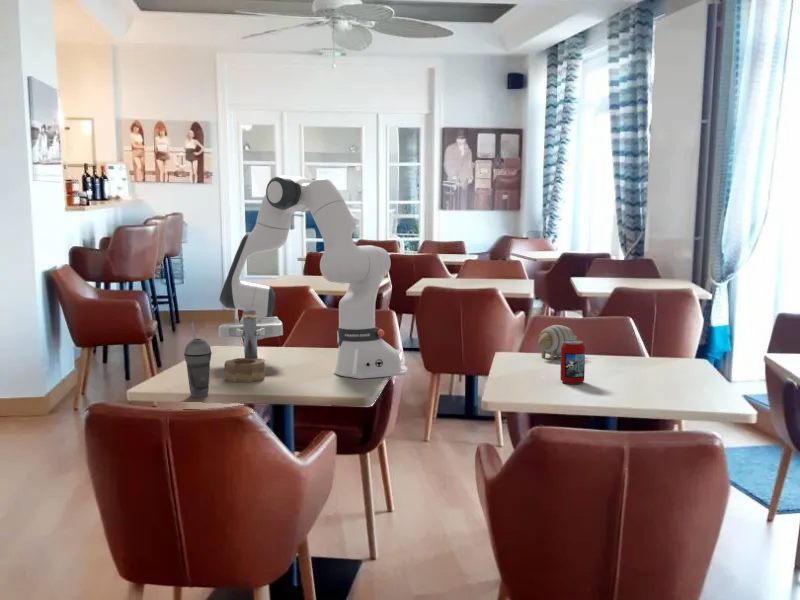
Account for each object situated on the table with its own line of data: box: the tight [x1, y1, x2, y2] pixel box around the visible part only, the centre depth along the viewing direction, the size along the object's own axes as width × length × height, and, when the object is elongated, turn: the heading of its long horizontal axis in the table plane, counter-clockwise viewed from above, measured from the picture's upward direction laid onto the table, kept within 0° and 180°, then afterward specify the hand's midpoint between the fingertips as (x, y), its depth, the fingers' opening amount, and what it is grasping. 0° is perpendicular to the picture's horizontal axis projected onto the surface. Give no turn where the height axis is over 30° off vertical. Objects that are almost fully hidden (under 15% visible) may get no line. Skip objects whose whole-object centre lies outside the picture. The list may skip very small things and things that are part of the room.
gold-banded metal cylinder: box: [242, 310, 259, 359], centre depth 238 cm, size 4×4×16 cm
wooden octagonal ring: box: [224, 357, 266, 383], centre depth 228 cm, size 12×12×5 cm
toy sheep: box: [537, 324, 578, 361], centre depth 257 cm, size 11×17×11 cm, turn 127°
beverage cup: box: [183, 322, 213, 398], centre depth 206 cm, size 7×7×20 cm
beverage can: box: [560, 339, 586, 385], centre depth 219 cm, size 7×7×12 cm
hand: (249, 333), depth 237 cm, fingers closed on gold-banded metal cylinder, 4 cm apart
